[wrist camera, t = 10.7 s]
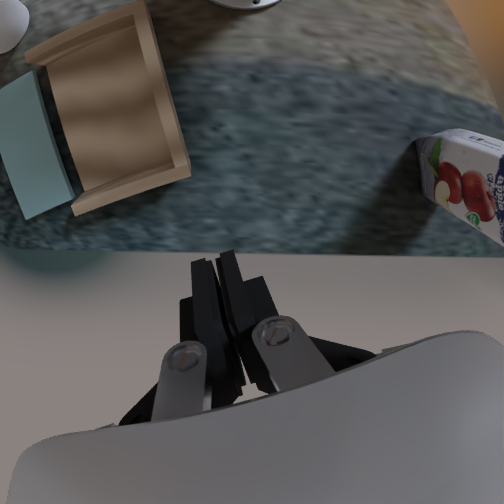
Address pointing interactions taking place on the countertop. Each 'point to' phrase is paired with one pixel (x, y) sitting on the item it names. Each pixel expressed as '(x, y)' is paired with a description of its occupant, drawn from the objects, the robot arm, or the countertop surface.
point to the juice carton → (465, 177)
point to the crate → (114, 105)
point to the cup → (12, 23)
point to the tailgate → (31, 148)
